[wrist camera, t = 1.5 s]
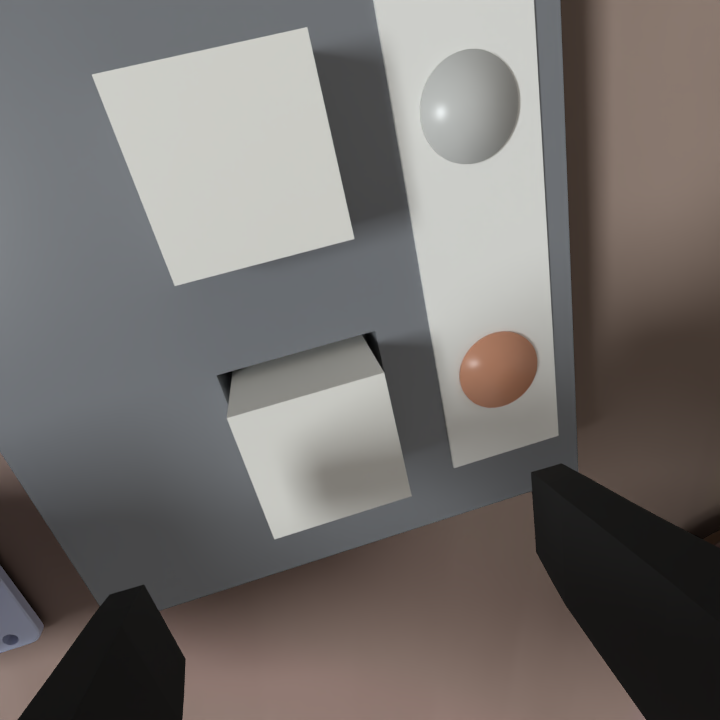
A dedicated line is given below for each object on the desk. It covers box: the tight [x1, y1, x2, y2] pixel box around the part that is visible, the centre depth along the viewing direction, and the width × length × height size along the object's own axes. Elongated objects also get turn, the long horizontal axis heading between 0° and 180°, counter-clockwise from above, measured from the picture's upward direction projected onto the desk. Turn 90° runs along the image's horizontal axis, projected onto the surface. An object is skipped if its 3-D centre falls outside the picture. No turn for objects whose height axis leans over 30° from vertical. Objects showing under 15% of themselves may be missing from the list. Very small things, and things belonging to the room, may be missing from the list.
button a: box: [227, 335, 412, 539], centre depth 13 cm, size 4×4×3 cm
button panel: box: [0, 0, 578, 611], centre depth 12 cm, size 16×24×3 cm, turn 13°
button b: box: [92, 27, 354, 286], centre depth 11 cm, size 4×4×3 cm
